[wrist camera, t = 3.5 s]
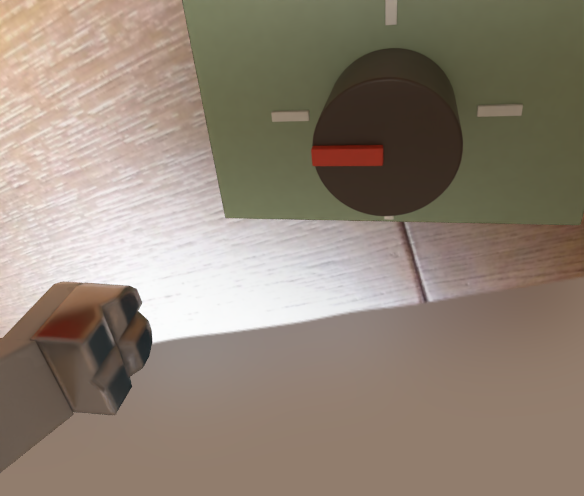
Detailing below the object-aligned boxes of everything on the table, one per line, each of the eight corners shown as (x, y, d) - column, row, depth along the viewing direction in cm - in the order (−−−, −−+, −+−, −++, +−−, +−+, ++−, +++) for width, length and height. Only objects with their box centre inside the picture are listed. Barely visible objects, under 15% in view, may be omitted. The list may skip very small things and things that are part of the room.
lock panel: (618, -63, 16) (656, -57, 13) (561, 188, 21) (581, 228, 18) (208, -24, 19) (176, -13, 17) (244, 186, 24) (223, 220, 21)
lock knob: (461, 43, 16) (471, 76, 13) (450, 170, 18) (457, 223, 15) (324, 51, 17) (303, 84, 14) (331, 170, 19) (315, 220, 16)
